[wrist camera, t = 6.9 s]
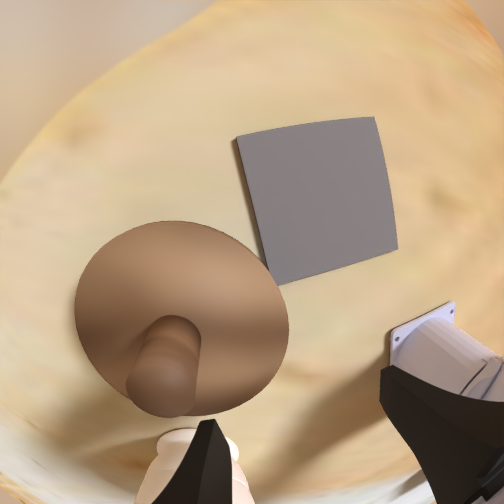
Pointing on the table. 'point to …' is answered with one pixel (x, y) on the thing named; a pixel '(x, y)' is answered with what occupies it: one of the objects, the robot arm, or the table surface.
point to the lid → (181, 319)
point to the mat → (319, 195)
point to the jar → (170, 458)
